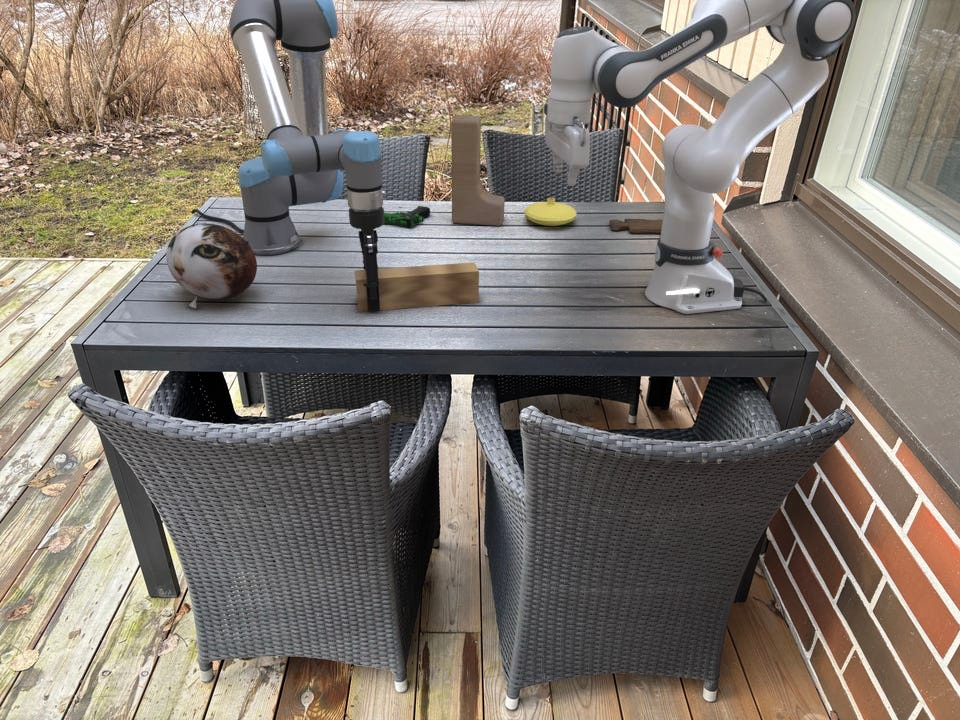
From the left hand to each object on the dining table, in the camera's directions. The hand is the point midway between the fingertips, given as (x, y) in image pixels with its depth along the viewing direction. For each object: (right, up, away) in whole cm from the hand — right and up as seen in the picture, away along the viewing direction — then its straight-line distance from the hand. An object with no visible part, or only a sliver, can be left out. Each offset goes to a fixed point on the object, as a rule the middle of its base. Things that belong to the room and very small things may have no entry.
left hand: (372, 303), depth 166 cm
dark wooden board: (+76, +26, +47) cm, 93 cm away
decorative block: (+24, +29, +50) cm, 63 cm away
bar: (+10, 0, +2) cm, 11 cm away
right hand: (+43, +27, -10) cm, 52 cm away
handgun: (+1, +29, +51) cm, 59 cm away
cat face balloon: (-37, +2, +4) cm, 37 cm away
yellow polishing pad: (+46, +29, +50) cm, 74 cm away
